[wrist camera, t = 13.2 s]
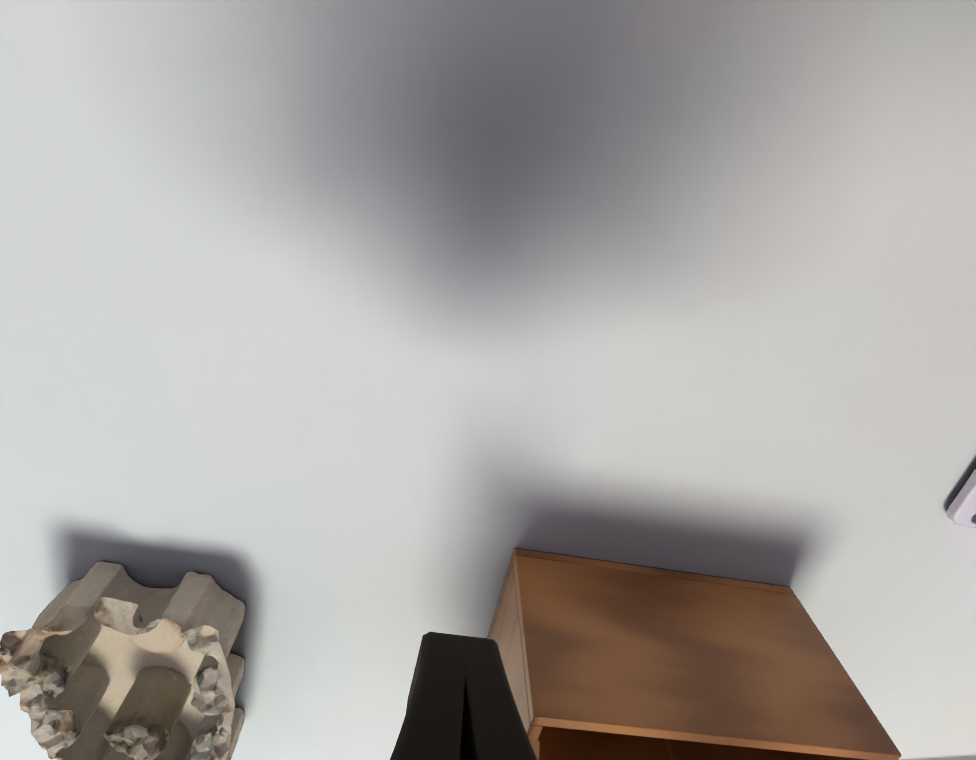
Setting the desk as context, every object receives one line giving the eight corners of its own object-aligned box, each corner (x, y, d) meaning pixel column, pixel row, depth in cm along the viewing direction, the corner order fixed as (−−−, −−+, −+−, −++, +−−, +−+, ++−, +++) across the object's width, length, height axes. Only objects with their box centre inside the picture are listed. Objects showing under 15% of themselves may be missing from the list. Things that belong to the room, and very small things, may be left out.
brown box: (469, 695, 27) (471, 879, 20) (514, 547, 23) (533, 716, 17) (711, 722, 28) (782, 900, 22) (790, 586, 24) (902, 755, 18)
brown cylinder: (749, 632, 25) (829, 782, 19) (714, 694, 27) (778, 847, 21) (661, 621, 24) (717, 771, 19) (630, 685, 26) (674, 839, 21)
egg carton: (62, 545, 22) (-19, 635, 18) (266, 576, 23) (228, 667, 19) (75, 726, 26) (12, 827, 23) (246, 745, 27) (213, 846, 24)
